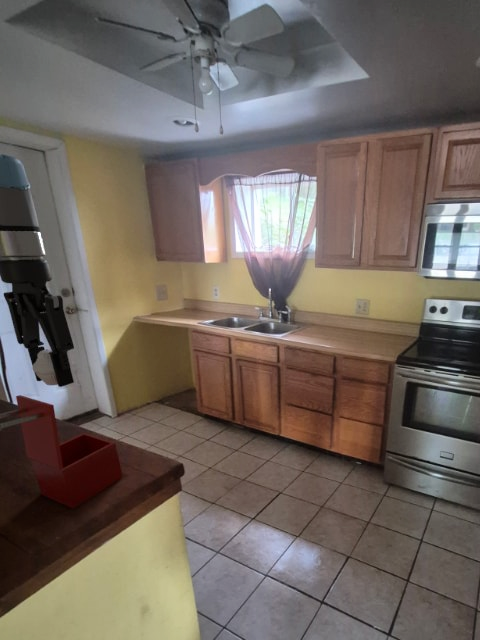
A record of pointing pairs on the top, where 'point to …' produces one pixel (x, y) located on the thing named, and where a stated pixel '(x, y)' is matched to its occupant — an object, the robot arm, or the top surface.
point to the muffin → (45, 368)
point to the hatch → (37, 430)
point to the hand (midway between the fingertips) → (55, 381)
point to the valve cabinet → (79, 470)
